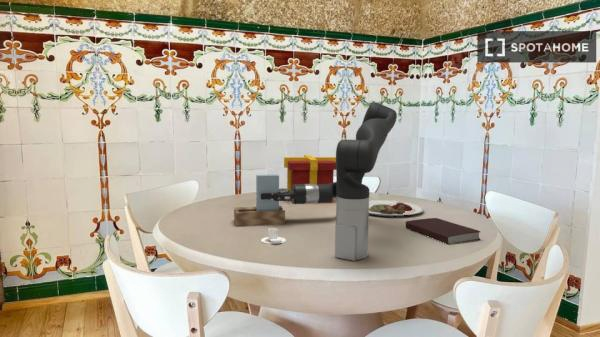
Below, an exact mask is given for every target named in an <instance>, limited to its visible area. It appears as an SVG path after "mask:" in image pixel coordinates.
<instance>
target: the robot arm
mask: <svg viewBox="0 0 600 337" xmlns="http://www.w3.org/2000/svg"><path fill="white" fill-rule="evenodd" d="M397 118H398V115H397V112H396V110H395V109H393V108H391V107H388V106H386V105H384V104H381V103H378V102H377V101H373V102H372V103H370V104H369V106H368V108H367V109H366V111H365V114H364V117H363V120H362V123H361V124H360V126H359V127H358V129H357V131H356V132H355V139H342V140H339V141H338V143H337V145H336V150H335V157H336V170H335V171H336V172H335V173H336V175H335V176H336V178H335V180H336V181H333V183H330V184H294V185H293V186H292V189H291V190H287V188H284V187H283V188H279V191H277V192H276V193H261V199H262V200H265V199H271V200H274V201H279V202H291V203H292V202H293V203H292V204H293V205H309V204H310V205H314V204H313V203H317V204H326V203H325V202H330V201H331V200H332V199H333V200H334V199H335V198H336V205H335V206H336V210H335V211H336V212H335V213H336V215H335V219H336V221H335V222H336V223H335V224H336V225H335V227H334V228H335V231H334V232H335V233H334V234H335V236H334V238H335V240H334V257H335V258H337V259H342V260H348V261H354V262H355V261H357V260H364V259H366V258H367V257H368V251H369V222H370V221H369V220H370V219H369V217H370V214H369V200H370V188H369V186H368V185H365V184H363V178H364V177H365V174H367V173H370V172H371V171H372V170H374V167H375V164H376V162H377V159H378V156H379V153H380V150H381V148H382V146H383V145H384V143H385V142H386V140H387V137H388V134H390V132H391V130H392V129H393V128H394V126H395V124H396V122H397ZM290 199H292V201H291V200H290Z"/></svg>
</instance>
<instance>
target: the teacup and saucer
mask: <svg viewBox="0 0 600 337" xmlns="http://www.w3.org/2000/svg"><path fill="white" fill-rule="evenodd" d="M267 231H268V236H266V237H263V238H261V239H260V241H261V242H262V243H264V244H271V245H277V244H283V243H285V242H286V241H287V240H286V238H284V237H282V236H278V233H279V229H278V228H276V227H269V228H268V230H267ZM266 240H269V241H270V242H269V241H266Z"/></svg>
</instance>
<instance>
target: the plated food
mask: <svg viewBox="0 0 600 337" xmlns="http://www.w3.org/2000/svg"><path fill="white" fill-rule="evenodd" d="M387 204H392V205H393V206H390V205H387ZM412 208H413V209H415V210H416V211H415V212H414V213H410V214H403V213H405V211H411V210H413V209H412ZM424 211H425V209H424V207H423V206H422V205H420V204H416V203H414V202H409V201H402V200H393V199H369V215H373V216H377V217H378V216H380V217H394V216H396V217H405V216H404V215H408V216H411V215H417V214H421V213H422V212H424Z"/></svg>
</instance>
